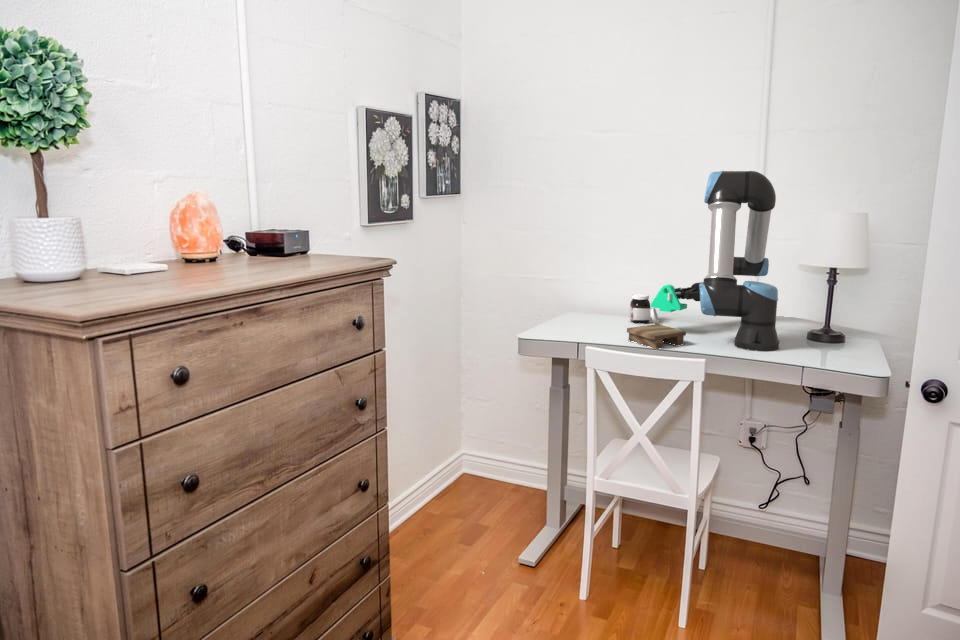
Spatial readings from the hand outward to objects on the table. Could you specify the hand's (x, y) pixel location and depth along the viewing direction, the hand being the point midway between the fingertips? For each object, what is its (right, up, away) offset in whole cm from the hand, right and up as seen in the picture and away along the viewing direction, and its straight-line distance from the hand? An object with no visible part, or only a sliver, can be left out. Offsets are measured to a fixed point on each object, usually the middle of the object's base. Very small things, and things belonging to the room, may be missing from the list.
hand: (663, 295), depth 266 cm
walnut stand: (-6, -18, -11) cm, 22 cm away
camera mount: (+3, -6, +4) cm, 8 cm away
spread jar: (-1, -11, +26) cm, 28 cm away
